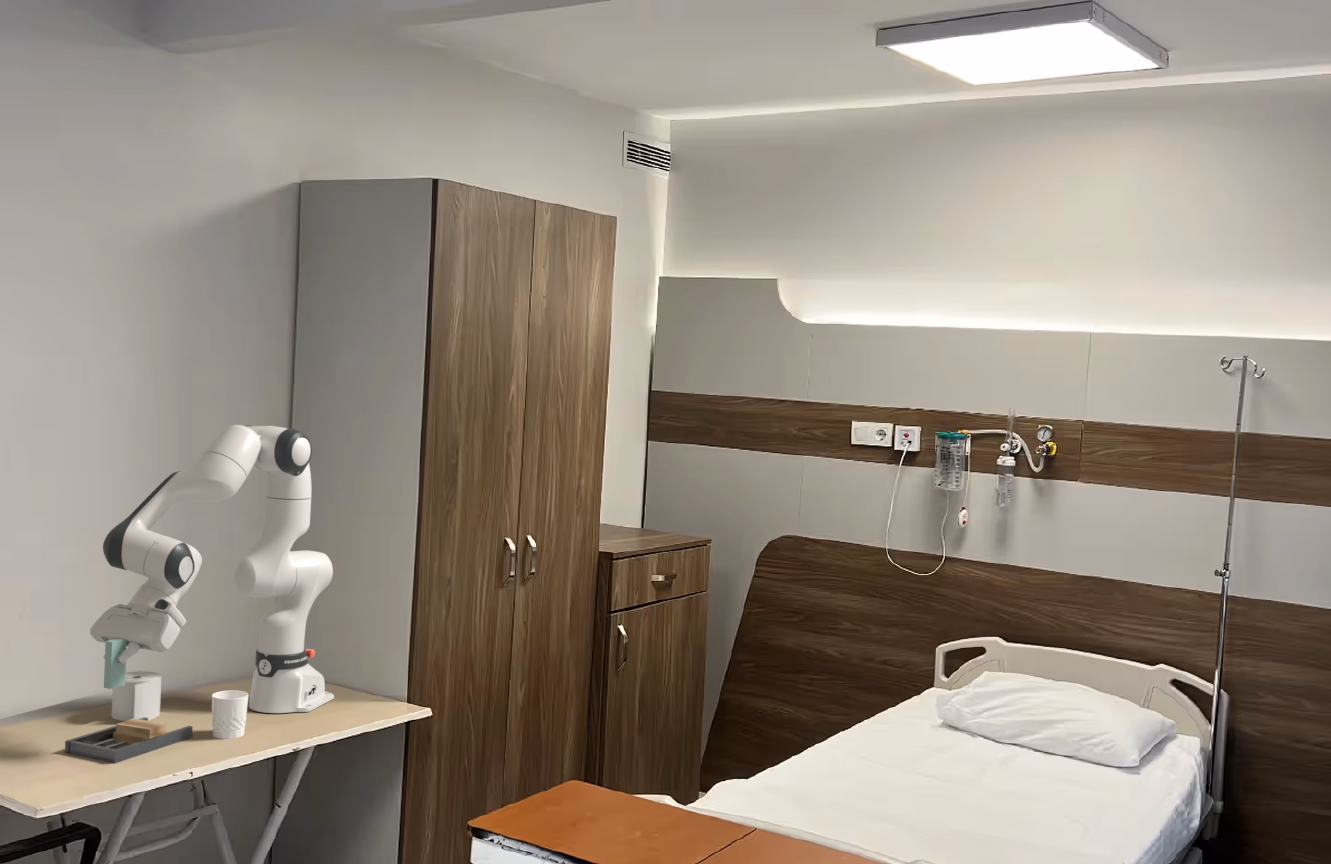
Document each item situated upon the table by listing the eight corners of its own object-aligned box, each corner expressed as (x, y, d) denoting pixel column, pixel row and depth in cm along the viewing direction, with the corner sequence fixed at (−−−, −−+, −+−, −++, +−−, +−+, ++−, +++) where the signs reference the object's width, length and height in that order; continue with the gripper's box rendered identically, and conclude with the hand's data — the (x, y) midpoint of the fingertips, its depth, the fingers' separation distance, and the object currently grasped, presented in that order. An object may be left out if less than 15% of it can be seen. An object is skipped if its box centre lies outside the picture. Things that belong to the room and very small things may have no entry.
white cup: (209, 734, 280) (211, 691, 280) (245, 732, 283) (247, 689, 283) (210, 744, 273) (212, 699, 273) (247, 741, 276) (249, 698, 276)
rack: (144, 731, 280) (144, 717, 279) (191, 740, 274) (192, 726, 274) (64, 756, 259) (65, 740, 259) (114, 767, 254) (115, 751, 254)
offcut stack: (133, 734, 274) (134, 716, 274) (168, 741, 270) (169, 723, 270) (111, 741, 268) (112, 723, 268) (146, 748, 265) (147, 730, 264)
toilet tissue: (143, 709, 297) (145, 668, 297) (172, 719, 290) (174, 677, 290) (101, 717, 288) (103, 675, 288) (131, 728, 282) (132, 685, 281)
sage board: (118, 684, 264) (120, 638, 263) (124, 685, 263) (126, 639, 263) (103, 687, 260) (105, 641, 260) (110, 689, 259) (112, 642, 259)
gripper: (106, 594, 271) (68, 646, 263) (178, 605, 264) (142, 658, 255) (121, 611, 276) (84, 662, 267) (192, 622, 268) (157, 675, 259)
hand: (113, 660), depth 261 cm, fingers closed on sage board, 2 cm apart
